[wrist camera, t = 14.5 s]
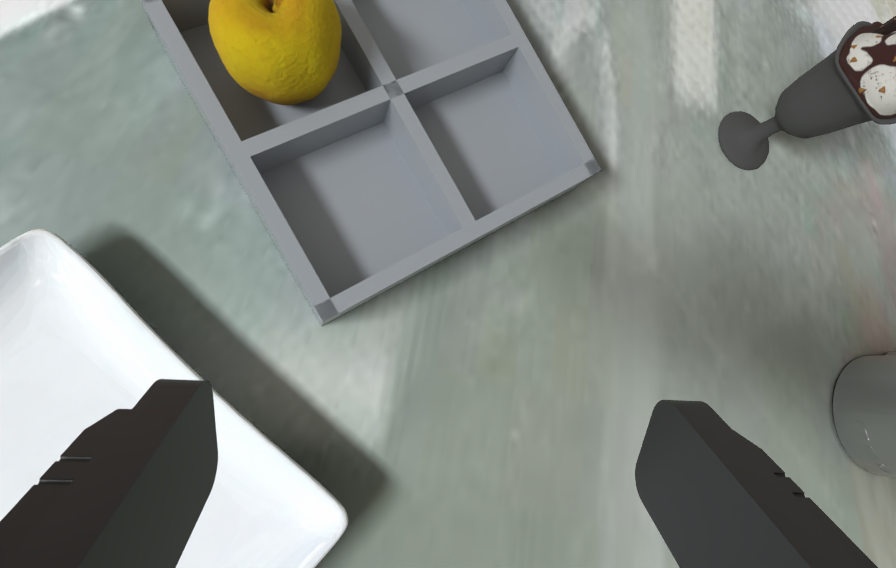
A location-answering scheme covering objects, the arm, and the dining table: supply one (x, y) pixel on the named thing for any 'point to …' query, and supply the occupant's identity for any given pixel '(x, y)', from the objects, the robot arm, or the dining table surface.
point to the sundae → (824, 96)
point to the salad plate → (120, 387)
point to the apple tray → (388, 140)
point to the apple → (278, 45)
